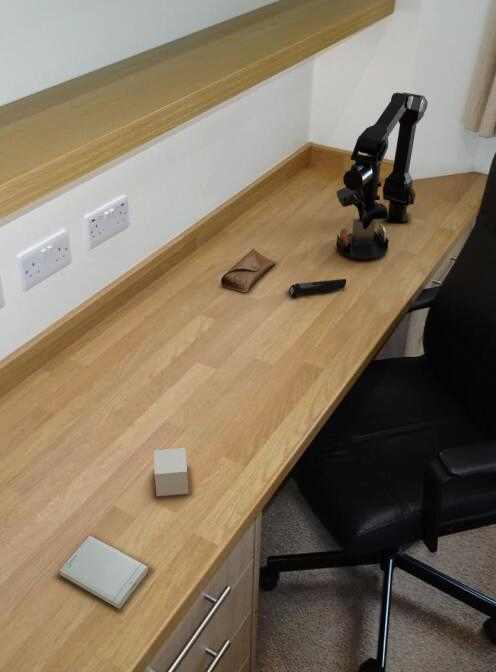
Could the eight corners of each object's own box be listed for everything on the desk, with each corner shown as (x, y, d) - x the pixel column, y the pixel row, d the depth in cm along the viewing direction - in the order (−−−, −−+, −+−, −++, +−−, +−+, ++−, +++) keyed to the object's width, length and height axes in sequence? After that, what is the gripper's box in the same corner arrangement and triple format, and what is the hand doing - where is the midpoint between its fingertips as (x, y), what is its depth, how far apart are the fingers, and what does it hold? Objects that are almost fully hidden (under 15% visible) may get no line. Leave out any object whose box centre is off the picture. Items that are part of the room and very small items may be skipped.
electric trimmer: (347, 292, 189) (348, 282, 187) (291, 298, 186) (292, 288, 185) (343, 285, 192) (344, 275, 190) (288, 291, 190) (288, 281, 188)
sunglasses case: (248, 292, 189) (236, 271, 187) (228, 297, 193) (217, 277, 192) (277, 262, 201) (267, 242, 200) (258, 268, 206) (248, 248, 204)
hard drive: (58, 569, 117) (118, 603, 112) (90, 534, 123) (147, 564, 118) (60, 576, 118) (119, 610, 113) (91, 540, 124) (148, 570, 119)
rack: (329, 237, 212) (331, 211, 207) (376, 232, 214) (379, 205, 209) (345, 262, 199) (348, 234, 194) (396, 256, 201) (399, 228, 196)
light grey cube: (188, 493, 132) (187, 471, 129) (156, 496, 132) (154, 474, 129) (186, 469, 137) (185, 447, 134) (156, 472, 137) (153, 450, 134)
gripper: (330, 167, 201) (326, 216, 210) (352, 194, 186) (347, 246, 194) (367, 163, 203) (362, 212, 211) (392, 190, 187) (386, 241, 196)
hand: (363, 227), depth 203 cm, fingers closed on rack
